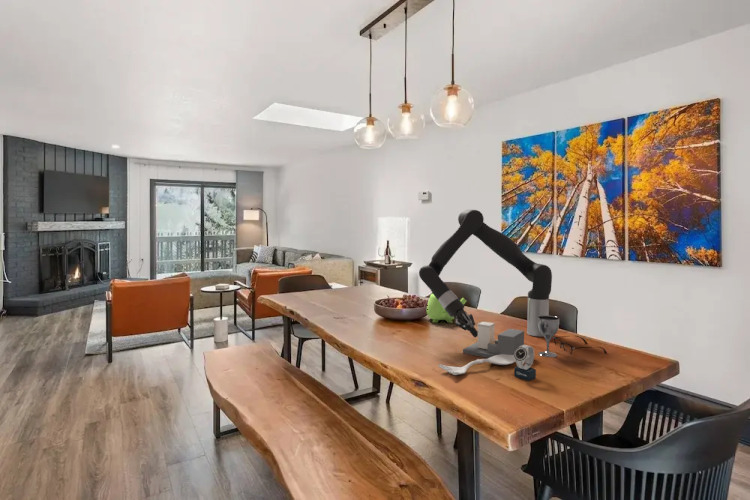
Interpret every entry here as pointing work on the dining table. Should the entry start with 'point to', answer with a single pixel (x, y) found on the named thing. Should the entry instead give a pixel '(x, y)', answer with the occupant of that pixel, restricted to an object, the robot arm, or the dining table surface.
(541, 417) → the dining table surface
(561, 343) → the eyeglasses
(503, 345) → the grey block model
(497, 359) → the spoon
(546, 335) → the wine glass
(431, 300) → the teapot
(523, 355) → the watch
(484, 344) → the white rectangular block
